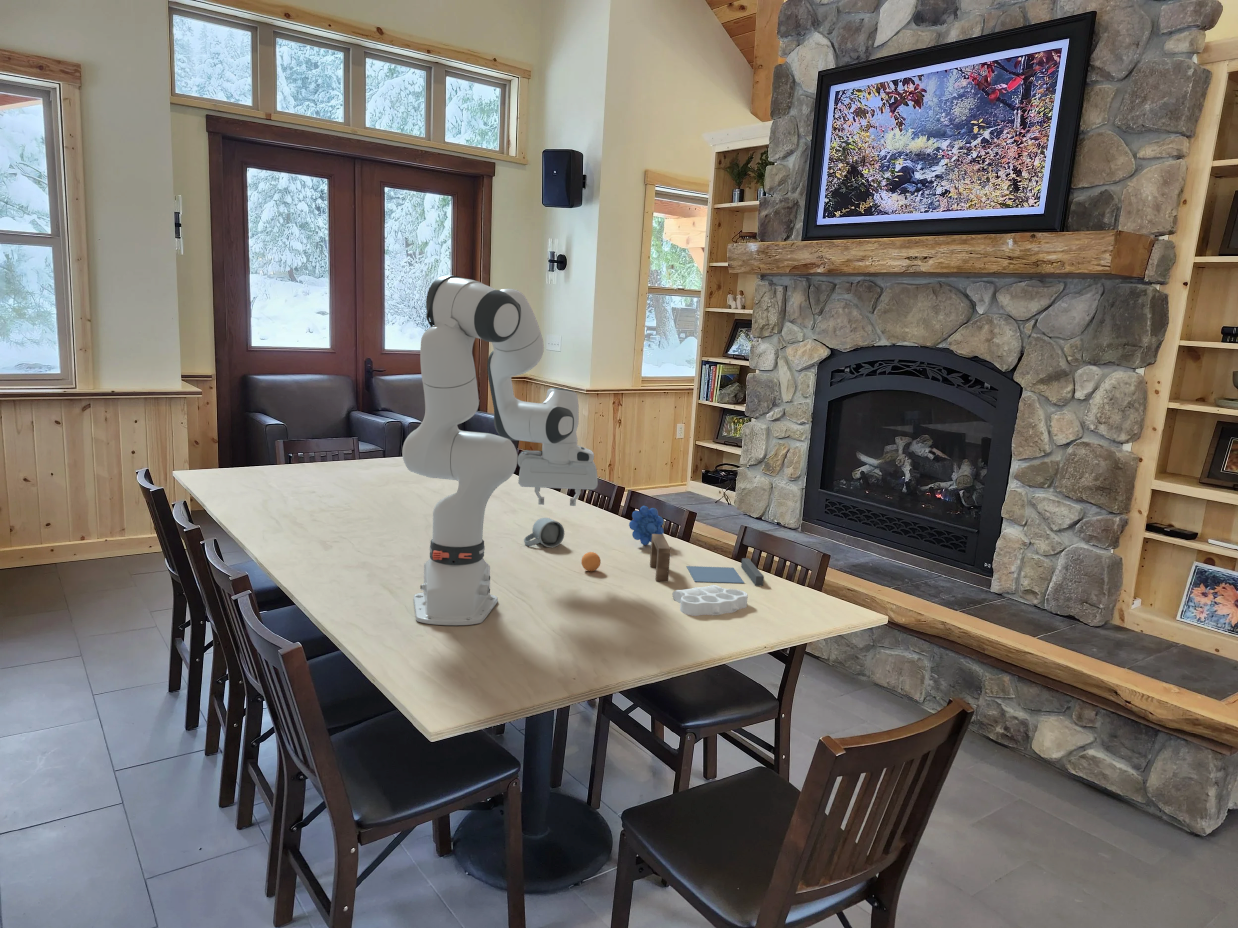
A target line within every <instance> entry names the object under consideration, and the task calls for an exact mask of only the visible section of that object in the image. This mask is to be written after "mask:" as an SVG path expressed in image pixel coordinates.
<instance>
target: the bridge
mask: <svg viewBox="0 0 1238 928" xmlns="http://www.w3.org/2000/svg"><path fill="white" fill-rule="evenodd" d="M649 558H650V559H649V566H650V568H655V581H656V582H663V583H664V582H669V574H670V561H671V547H670V545H669V543H668V541H667V539H666V537H665V535H664V533H663V534H652V541H651V542H650V556H649Z"/></svg>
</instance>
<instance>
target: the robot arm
mask: <svg viewBox="0 0 1238 928" xmlns="http://www.w3.org/2000/svg"><path fill="white" fill-rule="evenodd" d="M425 307H426V316H425V317H426V320H427V323H428V325H429V326H430V327H429V328H427V329H426V330H425V331H424V332H423V333H422V335H421V339H420V351H419V352H420V355H419V356H420V358H419V359H420V360H419V361H420V372H421V380H422V388H423V395H424V409H425V411H424V412H425V413H424V417H423V420H422V421H421V423H420V425H419V426H418V427H417V428H416V429H414V430H413V431H411V432H410V433H409V434H408V435H407V437H406V438H405V440H404V442H403V445H402V449H401V450H402V451H401V453H402V455H401V457H402V461H403V463H404V465H405V467H406V468H407V470H408V471H409V472H412V473H413V474H417V475H420V476H423V477H426V478H430V479H431V478H432V479H442V480H450V481H451V480H452V481H458V488H457V490H456V492H455V493H452V494H449V495H448V496H445V497H442V498H441V499H440V500H438V502H437V503H436V504H435V506H434V508H433V511H432V536H431V537H432V538H431V540H430V542H429V543H430V544H429V559H428V560H427V561H425V562H424V563H423V583H421V584H420V586H419V587H420V591H423V592H418V593H415V594H413V599H412V600H413V606H414V607H413V608H414V615H415V616H414V617H415V620H416V622H418V623H419V622H420V623H423V624H429V625H437V626H438V625H439V626H469V625H476V624H482V623H483V622H484V621H485V620H486V618H487V616H488V615H490V612H492V610H493V609H494V608H495V606H496V605H497V604H498V602H499V599H498V598H499V597H498V596H497V595H494V594H491V565H489V563H488V562H487V561H486V560H485V558H484V557H485V550H486V548H485V547H486V546H485V540H484V538H483V536H484V532H483V531H484V521H485V512H486V508H487V503H488V502H489V499H490V497H491V496H492V494H493V493H494V491H495V490H496V489H498V487H499V486H501V485H502V484H504V483H505V482H507V481H508V480H509V479H510V478H511V477H513V475H514V473H515V472H516V468H517V467H519V474H518V479H517V481H518V484H519V486H520V487H522V488H534V493H535V495H536V496H537V498H538V502H537V504H538V506H539V505H540V506H541V505H545V496H542V495H541V494H540V492H541V488H543V489H544V488H545V489H566V490H567V489H568V490H569V489H570V490H574V492H575V494H574V496H573V497H570V499H569V506H571V507H576V504H577V500H578V498H579V497H580V495H581V493H582V492H581V491H582V490H589V491H590V490H592V491H593V490H596V489H597V488H598V469H597V465H596V463H595V461H594V459H595V453H594V452H593V451H592V449H589V448H586V447H583V446H581V445H578V436H577V431H578V427H579V417H580V416H579V413H580V412H579V411H580V410H579V409H580V407H579V397H578V393H576V392H575V391H574V390H572V389H567V388H562V387H561V388H560V387H552V388H548V389H547V391H546V395H545V396H546V397H545V400H544V401H542V402H541V403H540V402H532V401H531V402H530V401H523V400H521V399H518V398H517V397H516V396H515V394H514V387H513V382H512V378H513V377H516V376H521V375H524V374H526V373H527V372H530V371H532V369H534V368H535V367H536V366H537V365H538V363H540V361H541V360H542V358H543V355H544V350H545V347H544V340H543V335H542V332H541V329H540V326H539V323H538V320H537V317H536V315H535V313H534V311H533V308H532V306H531V304H530V303H529V301H528V299H527V298H526V296H525V294H523V293H522V292H521V291H519V290H518V289H515V288H501V289H496V288H494V287H491V286H489V285H487V284H484V283H483V282H482V281H478V280H474V279H470V278H463V277H461V276H458V275H443V276H439V277H437V278H436V279H434V280H433V282H432V283H431V284H430V286H429V288H428V290H427V294H426V300H425ZM476 339H480V340H482V341H484V342H488V343H491V344H492V349H493V350H492V351H491V353H490V354H489V355H488V358H487V369H486V370H487V376H488V382H489V383H488V384H489V388H490V396H491V400H492V405H493V424H494V429H495V430H496V431H495V432H496V433H498V435H496V434H493V433H490V432H489V433H488V432H479V431H467V430H461V429H459V427H458V425H460V424H462V423H464V422H466V421H468V420H470V419H472V417H474V416H475V414H476V413H477V411H478V409H479V407H480V406H479V405H480V400H479V391H478V380H477V375H476V366H475V361H474V356H473V347H474V343H475V340H476ZM513 441H517V442H519V441H522V442H530V443H537V444H538V443H539V444H542V446H541V450H529V449H526V450H524V451H522V452H520V453H519V454H518V453H517V452H518V451H517V449H516V446H515V444H514V443H513Z"/></svg>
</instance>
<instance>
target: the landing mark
mask: <svg viewBox="0 0 1238 928" xmlns="http://www.w3.org/2000/svg"><path fill="white" fill-rule="evenodd" d="M686 569H687V570H688V572H689V573H690V576H691V578H692V579H693V581H694V582H695V583H714V584H715V583H718V584H719V583H720V584H745V581H744V580H743V578H742V577H741V576H740V575H739V573H738V572H737V570H736V569H735V568H734V567H727V566H726V567H725V566H722V567H721V566H698V565H697V566H696V565H695V566H694V565H693V566H692V565H686Z"/></svg>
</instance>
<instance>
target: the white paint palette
mask: <svg viewBox="0 0 1238 928" xmlns="http://www.w3.org/2000/svg"><path fill="white" fill-rule="evenodd" d="M748 597H749V596H748V593H747V592H746V591H744V590H741V589H736V588H725V587H724V588H723V587H721V586H719V585H716V584H711V585H709V586H701V587H698V586H695V587H693V588H686V589H676V590H674V591H672V598H673V600H674V601H675V602H677V603H679V604H680V605H679V606H680V607H679V611H680V612H681V613H682V614H684V615H687V616H693V617H699V616H705V615H706V616H721V615H724V614H733V613H735V612H737V611H738V610H741V609H746V608H747V607H748Z"/></svg>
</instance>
